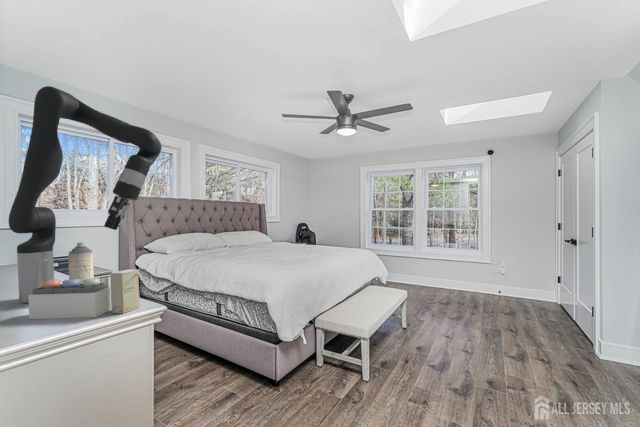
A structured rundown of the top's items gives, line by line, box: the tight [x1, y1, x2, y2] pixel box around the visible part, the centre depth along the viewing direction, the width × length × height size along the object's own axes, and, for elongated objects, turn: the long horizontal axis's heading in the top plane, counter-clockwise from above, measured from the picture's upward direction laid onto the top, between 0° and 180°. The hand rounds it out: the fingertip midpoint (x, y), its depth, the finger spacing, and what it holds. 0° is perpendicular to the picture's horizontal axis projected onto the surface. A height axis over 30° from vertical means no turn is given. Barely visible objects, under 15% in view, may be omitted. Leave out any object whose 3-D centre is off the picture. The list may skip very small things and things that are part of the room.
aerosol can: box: [67, 242, 95, 284], centre depth 105 cm, size 7×7×20 cm
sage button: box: [83, 277, 101, 288], centre depth 88 cm, size 4×4×2 cm
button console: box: [28, 282, 112, 320], centre depth 88 cm, size 19×7×8 cm, turn 91°
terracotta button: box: [42, 278, 61, 289], centre depth 88 cm, size 4×4×2 cm
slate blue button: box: [62, 278, 80, 288], centre depth 88 cm, size 4×4×2 cm
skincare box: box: [109, 268, 140, 314], centre depth 90 cm, size 6×4×12 cm
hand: (110, 228), depth 98 cm, fingers open, 8 cm apart
